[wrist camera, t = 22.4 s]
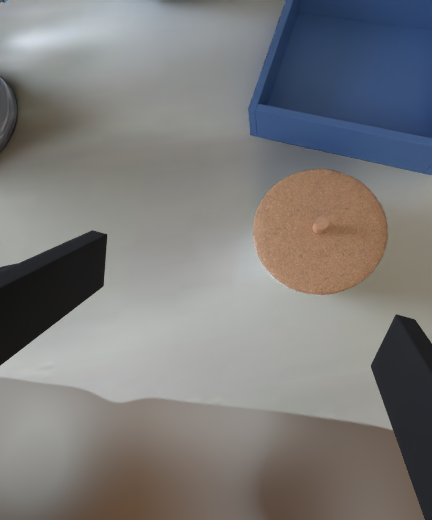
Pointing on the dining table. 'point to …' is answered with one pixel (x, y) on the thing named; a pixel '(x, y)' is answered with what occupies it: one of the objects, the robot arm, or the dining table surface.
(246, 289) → the dining table surface
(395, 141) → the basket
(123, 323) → the dining table surface
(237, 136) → the dining table surface
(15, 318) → the robot arm
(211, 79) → the dining table surface
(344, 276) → the trinket box
